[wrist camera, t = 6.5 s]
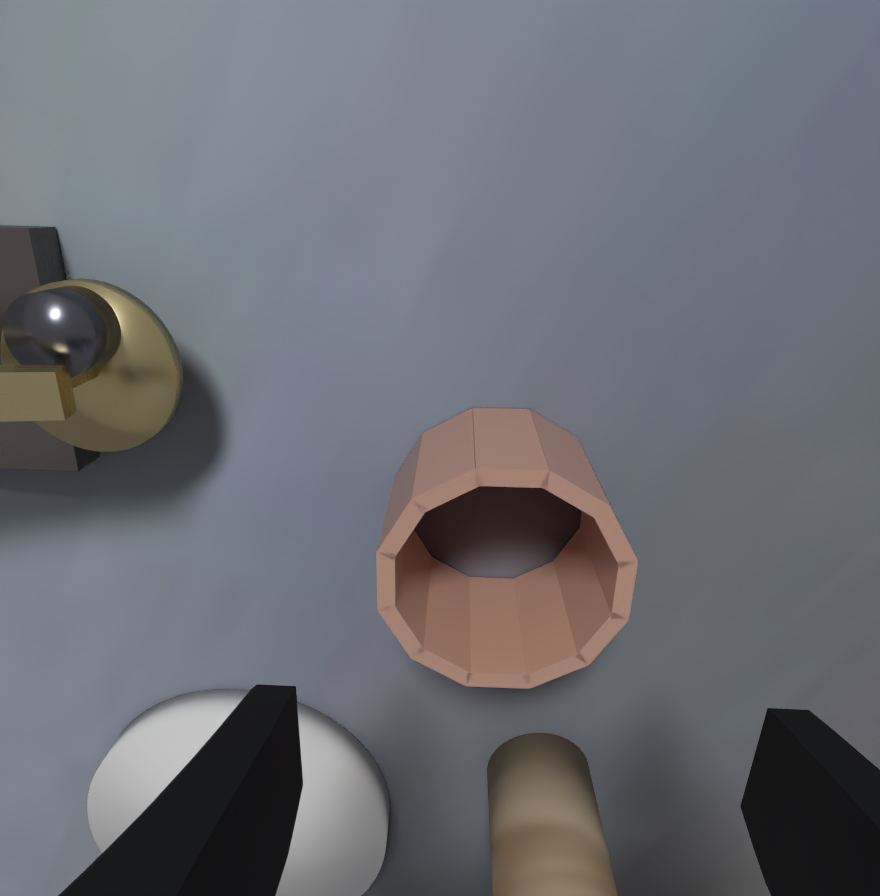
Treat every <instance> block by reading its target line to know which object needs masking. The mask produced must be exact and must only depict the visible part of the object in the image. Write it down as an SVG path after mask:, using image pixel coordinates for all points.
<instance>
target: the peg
mask: <svg viewBox="0 0 880 896" xmlns="http://www.w3.org/2000/svg"><path fill="white" fill-rule="evenodd" d="M487 777H488V800H489V822H490V845H491V867H492V890H493V896H618V895H617V891H616V886H615V882H614V877H613V873H612V868H611V864H610V859H609V855H608V851H607V846H606V842H605V837H604V833H603V828H602V824H601V819H600V815H599V811H598V806H597V802H596V797H595V793H594V788H593V784H592V779H591V775H590V771H589V766H588V762H587V759H586V757H585V755H584V754H583V752H582V751H581V750H580V749H579V748H578V747H577V746H576V745H575V744H574V743H572V742H571V741H569V740H567V739H565V738H563V737H560V736H557V735H552V734H546V733H532V734H525V735H521V736H518V737H515V738H513V739H510V740H508V741H507V742H505V743H504V744H502V745H501V746H500V747H499V748H498V749H497V750H496V751H495V752H494V753H493V755H492V756H491V758H490V760H489V763H488V768H487Z"/></svg>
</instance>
